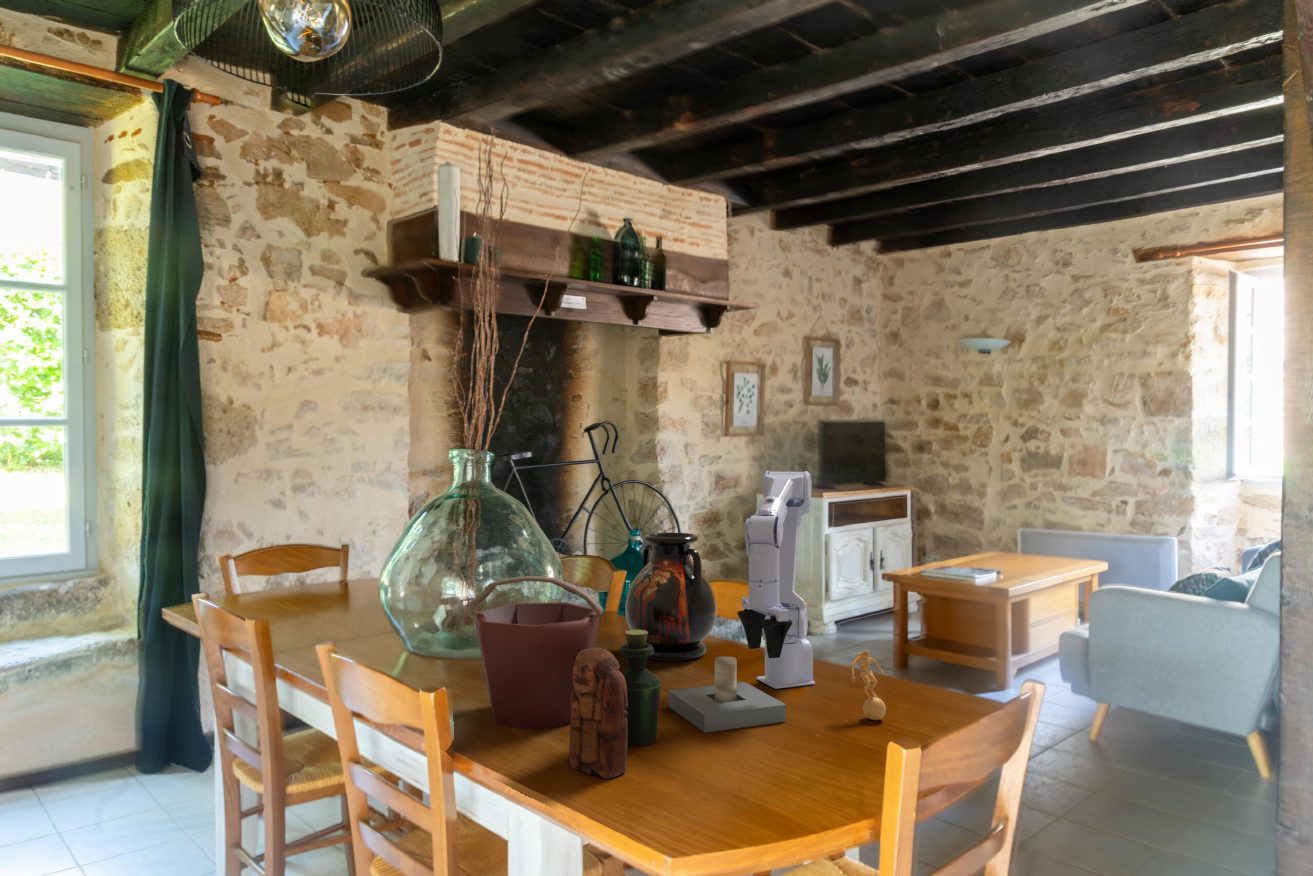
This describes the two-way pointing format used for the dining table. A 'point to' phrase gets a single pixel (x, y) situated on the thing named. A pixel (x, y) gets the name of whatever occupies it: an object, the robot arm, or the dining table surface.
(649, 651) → the potion bottle
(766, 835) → the dining table surface
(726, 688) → the birch dowel
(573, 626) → the bucket
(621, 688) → the wooden figurine
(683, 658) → the amphora vase
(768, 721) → the socket block
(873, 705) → the figurine
